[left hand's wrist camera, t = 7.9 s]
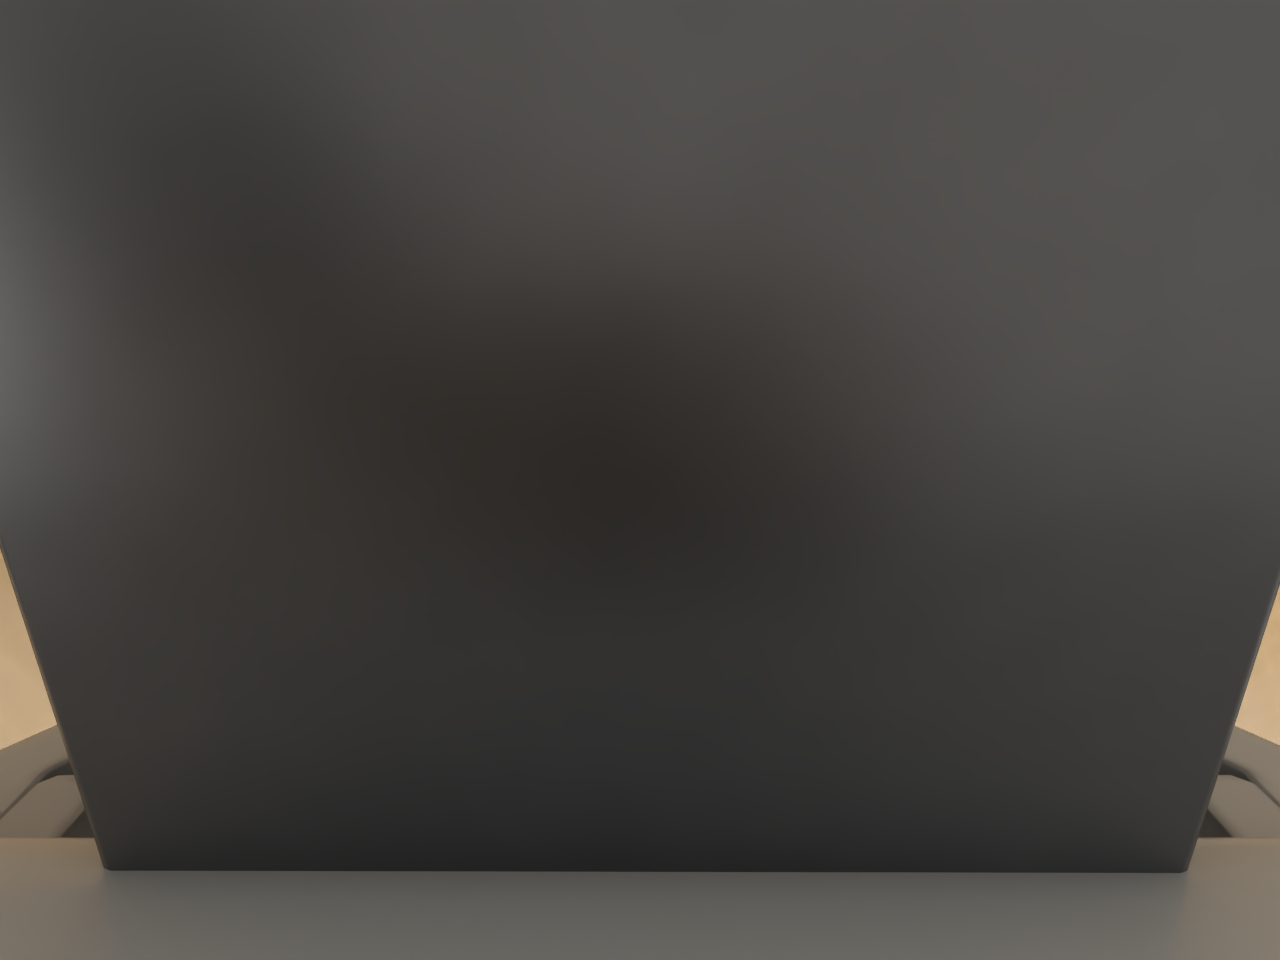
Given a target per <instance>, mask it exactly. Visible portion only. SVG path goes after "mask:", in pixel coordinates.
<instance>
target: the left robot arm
mask: <svg viewBox="0 0 1280 960" xmlns="http://www.w3.org/2000/svg"><path fill="white" fill-rule="evenodd" d="M0 960H1280V746H1279V745H1277V744H1275V743H1273V742H1270V741H1268V740H1266V739H1263V738H1261V737H1259V736H1257V735H1254V734H1252V733H1250V732H1248V731H1245V730H1243V729H1241V728H1238V727H1236V726H1234V728H1233V731H1232V734H1231V737H1230V740H1229V743H1228V746H1227V749H1226V753H1225V756H1224V759H1223V762H1222V765H1221V768H1220V771H1219V774H1218V777H1217V780H1216V784H1215V787H1214V790H1213V793H1212V796H1211V799H1210V802H1209V805H1208V808H1207V811H1206V815H1205V818H1204V821H1203V824H1202V827H1201V830H1200V833H1199V836H1198V839H1197V843H1196V846H1195V849H1194V852H1193V855H1192V858H1191V861H1190V864H1189V867H1188V870H1187V871H1185V872H1182V873H951V872H499V871H110V870H108V869H105V868H104V867H103V864H102V861H101V858H100V855H99V851H98V848H97V845H96V842H95V839H94V836H93V833H92V830H91V827H90V824H89V821H88V818H87V814H86V811H85V808H84V805H83V802H82V799H81V796H80V793H79V790H78V787H77V784H76V780H75V777H74V774H73V771H72V768H71V765H70V762H69V759H68V756H67V753H66V750H65V746H64V743H63V740H62V737H61V734H60V731H59V728H58V725H56V726H54V727H52V728H49V729H47V730H45V731H42V732H40V733H38V734H36V735H33V736H31V737H29V738H27V739H24V740H22V741H20V742H18V743H15V744H13V745H11V746H9V747H6V748H4V749H2V750H0Z"/></svg>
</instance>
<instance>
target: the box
mask: <svg viewBox="0 0 1280 960" xmlns="http://www.w3.org/2000/svg"><path fill="white" fill-rule="evenodd" d="M0 549H1V552H2V555H3V558H4V561H5V564H6V567H7V570H8V574H9V577H10V580H11V583H12V586H13V589H14V592H15V595H16V598H17V601H18V604H19V607H20V611H21V614H22V617H23V620H24V623H25V626H26V629H27V632H28V635H29V638H30V641H31V645H32V648H33V651H34V654H35V657H36V660H37V663H38V666H39V669H40V672H41V675H42V679H43V682H44V685H45V688H46V691H47V694H48V697H49V700H50V703H51V706H52V709H53V713H54V716H55V719H56V722H57V725H58V728H59V731H60V734H61V737H62V740H63V743H64V746H65V750H66V753H67V756H68V759H69V762H70V765H71V768H72V771H73V774H74V777H75V780H76V784H77V787H78V790H79V793H80V796H81V799H82V802H83V805H84V808H85V811H86V814H87V818H88V821H89V824H90V827H91V830H92V833H93V836H94V839H95V842H96V845H97V848H98V851H99V855H100V858H101V861H102V864H103V867H104V868H105V869H108V870H110V871H499V872H951V873H1182V872H1185V871H1187V870H1188V867H1189V864H1190V861H1191V858H1192V855H1193V852H1194V849H1195V846H1196V843H1197V839H1198V836H1199V833H1200V830H1201V827H1202V824H1203V821H1204V818H1205V815H1206V811H1207V808H1208V805H1209V802H1210V799H1211V796H1212V793H1213V790H1214V787H1215V784H1216V780H1217V777H1218V774H1219V771H1220V768H1221V765H1222V762H1223V759H1224V756H1225V753H1226V749H1227V746H1228V743H1229V740H1230V737H1231V734H1232V731H1233V728H1234V725H1235V722H1236V718H1237V715H1238V712H1239V709H1240V706H1241V703H1242V700H1243V697H1244V694H1245V691H1246V687H1247V684H1248V681H1249V678H1250V675H1251V672H1252V669H1253V666H1254V663H1255V660H1256V656H1257V653H1258V650H1259V647H1260V644H1261V641H1262V638H1263V635H1264V632H1265V629H1266V625H1267V622H1268V619H1269V616H1270V613H1271V610H1272V607H1273V604H1274V601H1275V598H1276V594H1277V591H1278V588H1279V585H1280V0H0Z"/></svg>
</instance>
